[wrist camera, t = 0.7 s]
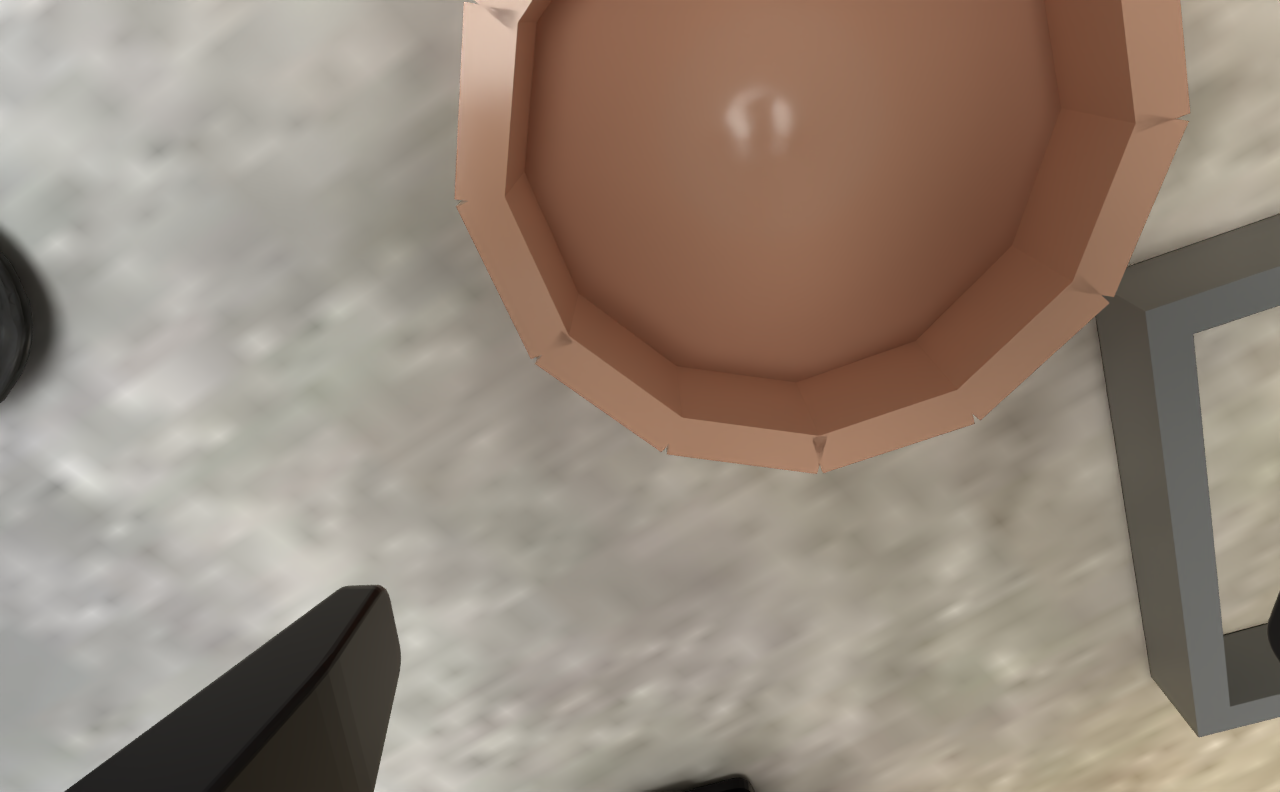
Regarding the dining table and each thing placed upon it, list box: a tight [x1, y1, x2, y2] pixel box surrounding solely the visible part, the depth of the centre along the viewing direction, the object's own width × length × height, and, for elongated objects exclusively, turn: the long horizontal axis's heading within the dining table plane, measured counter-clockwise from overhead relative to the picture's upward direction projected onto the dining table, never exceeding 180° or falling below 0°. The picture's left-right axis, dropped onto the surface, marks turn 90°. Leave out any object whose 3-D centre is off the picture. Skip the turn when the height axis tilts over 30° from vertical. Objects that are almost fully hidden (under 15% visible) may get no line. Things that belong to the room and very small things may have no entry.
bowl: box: [455, 0, 1190, 474], centre depth 17 cm, size 14×14×4 cm
